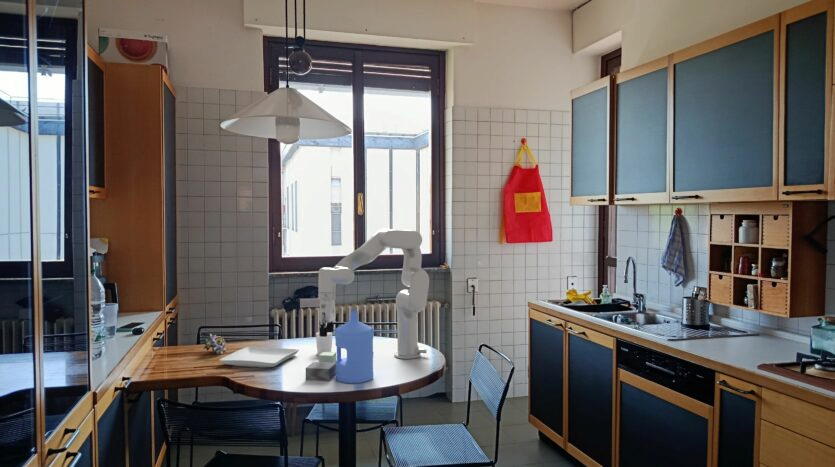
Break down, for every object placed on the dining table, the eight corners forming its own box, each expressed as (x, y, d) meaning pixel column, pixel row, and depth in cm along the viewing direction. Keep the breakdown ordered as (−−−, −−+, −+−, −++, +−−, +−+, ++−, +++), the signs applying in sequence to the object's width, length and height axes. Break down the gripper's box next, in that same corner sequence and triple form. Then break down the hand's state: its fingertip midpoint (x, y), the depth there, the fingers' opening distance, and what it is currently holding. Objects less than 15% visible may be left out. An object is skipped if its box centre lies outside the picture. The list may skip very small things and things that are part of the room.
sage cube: (336, 365, 264) (336, 352, 264) (332, 369, 258) (332, 355, 258) (323, 365, 265) (323, 351, 265) (319, 368, 259) (319, 355, 259)
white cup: (334, 351, 290) (334, 331, 290) (330, 355, 282) (330, 334, 282) (318, 351, 291) (318, 331, 290) (314, 355, 283) (314, 334, 283)
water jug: (374, 373, 251) (373, 308, 250) (372, 384, 236) (372, 314, 235) (337, 373, 251) (337, 308, 250) (333, 384, 235) (333, 314, 234)
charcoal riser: (336, 374, 250) (336, 362, 249) (329, 381, 240) (329, 368, 240) (313, 373, 251) (313, 361, 251) (305, 380, 241) (305, 368, 241)
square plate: (275, 371, 256) (275, 362, 256) (217, 367, 262) (217, 359, 262) (299, 356, 283) (299, 347, 283) (247, 353, 288) (247, 345, 288)
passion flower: (220, 365, 285) (218, 348, 278) (199, 360, 286) (196, 344, 278) (230, 347, 294) (228, 331, 287) (209, 343, 295) (207, 327, 287)
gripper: (329, 298, 251) (329, 338, 252) (340, 293, 268) (340, 330, 269) (312, 298, 252) (312, 337, 253) (324, 293, 269) (324, 330, 270)
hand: (326, 334), depth 261 cm, fingers open, 9 cm apart
